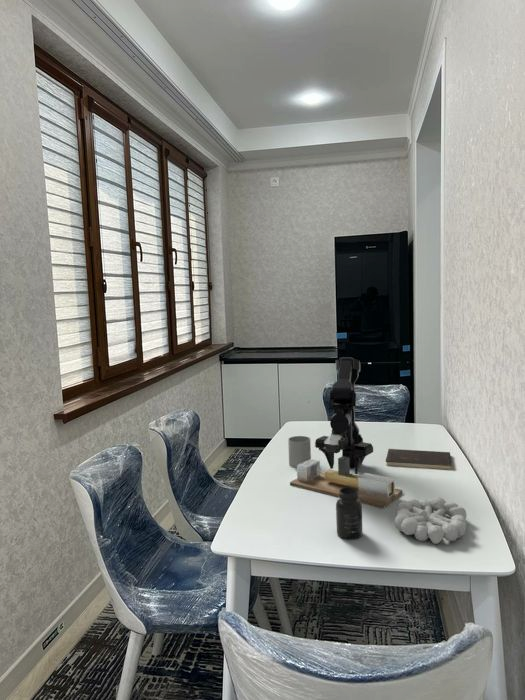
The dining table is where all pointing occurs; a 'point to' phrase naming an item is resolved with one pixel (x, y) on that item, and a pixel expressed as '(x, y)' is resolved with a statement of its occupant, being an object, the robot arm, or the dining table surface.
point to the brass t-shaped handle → (344, 474)
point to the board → (334, 488)
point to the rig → (366, 482)
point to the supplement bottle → (349, 514)
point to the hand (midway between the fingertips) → (344, 471)
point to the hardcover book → (419, 459)
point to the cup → (299, 450)
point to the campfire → (431, 519)
